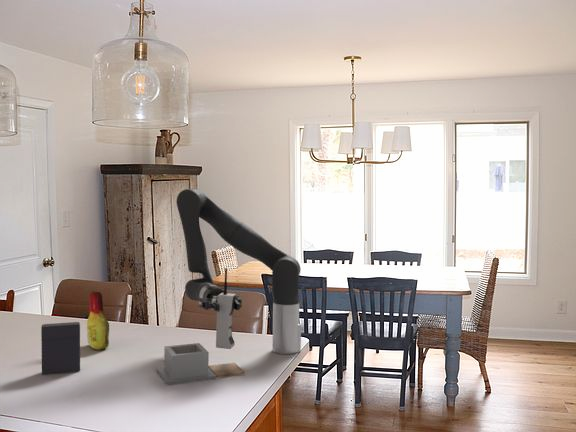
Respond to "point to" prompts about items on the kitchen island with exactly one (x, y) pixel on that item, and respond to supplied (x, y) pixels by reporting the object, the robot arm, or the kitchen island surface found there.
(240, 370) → the walnut pad
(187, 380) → the box
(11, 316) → the kitchen island surface
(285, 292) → the robot arm
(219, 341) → the vintage mobile phone
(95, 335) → the bottle
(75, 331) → the calculator
